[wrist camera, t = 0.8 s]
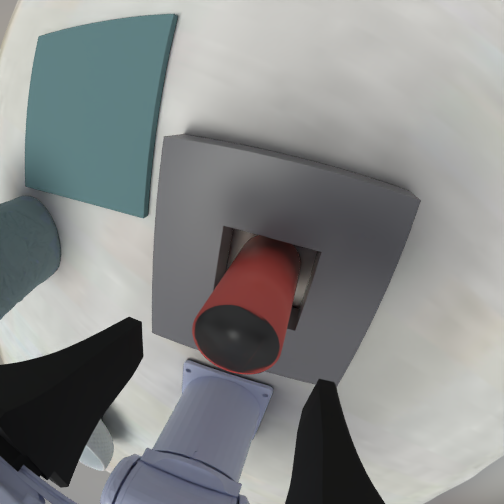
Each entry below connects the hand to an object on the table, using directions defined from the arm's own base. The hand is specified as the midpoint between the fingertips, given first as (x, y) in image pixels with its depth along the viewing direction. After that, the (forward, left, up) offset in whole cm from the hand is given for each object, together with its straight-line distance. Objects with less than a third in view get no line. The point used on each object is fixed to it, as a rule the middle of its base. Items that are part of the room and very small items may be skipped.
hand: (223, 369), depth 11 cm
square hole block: (0, 0, -10) cm, 10 cm away
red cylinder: (0, 0, -10) cm, 10 cm away
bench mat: (+8, +16, -10) cm, 20 cm away
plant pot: (-5, +23, -10) cm, 25 cm away
